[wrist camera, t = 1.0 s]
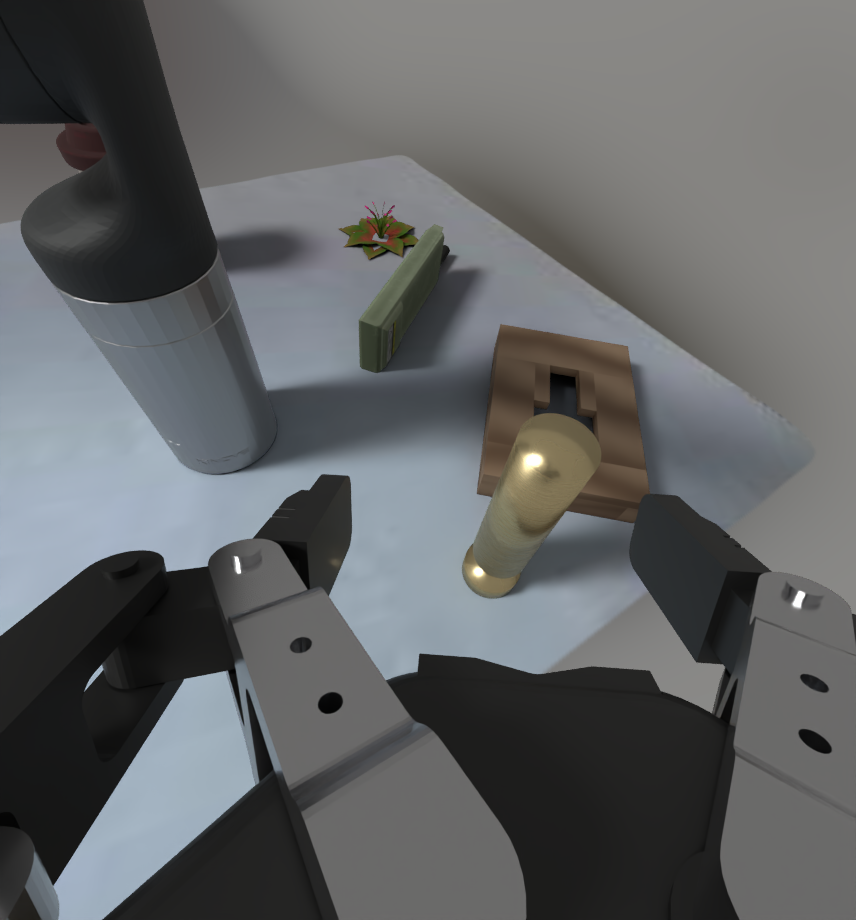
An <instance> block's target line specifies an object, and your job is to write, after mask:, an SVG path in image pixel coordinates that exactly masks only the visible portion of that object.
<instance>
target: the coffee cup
mask: <svg viewBox="0 0 856 920" xmlns="http://www.w3.org/2000/svg"><path fill="white" fill-rule="evenodd" d="M65 129H66V130H64V131H63V132H61V134H59V135H58V137H57V139H56V144H57V147H58V148H59V150H60V152H61V154H62V156H63V158H64V159H65V161H66V162H67V163H68V164H69V165H70V166H72V167H73V168H76V169H78V171H79V173H81V172H83V171H85V170H86V169H88V168H90V167H91V166H93V165H94V164H96V163H97V162H98V161H100V160H101V159H102V158H103V156H104V155H105V154H106V150H105V147H104V144H103V141H102V139H101V136H100V134H99V132H98V130H97V129H96V127H95V126H94V125H93V124H92V123H65Z"/></svg>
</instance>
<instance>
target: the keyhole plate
mask: <svg viewBox="0 0 856 920" xmlns="http://www.w3.org/2000/svg"><path fill="white" fill-rule="evenodd" d="M550 373H554V374H560V375H566V376H571V377H576V398H577V415H579V416H585V417H590V418H593V432H594V436H595V437H596V439H597V440H598V443H599V445H600V448H601V462H600V464H599V467H598V468H597V470H596V471H595V472H594V474H593V475H592V477H591V478H590V479H589V481H588V482H587V483H586V485H585V486H584V487H583V489H582V490H581V491H580V493H579V494H578V496H577V497H576V498H575V500H574V501H573V502H572V504H571V505H570V506H569V508H568V509H567V510H566V511H571V512H576V513H582V514H587V515H592V516H598V517H603V518H608V519H614V520H619V521H624V522H630V523H633V522H634V521H636V517H637V513H638V509H639V505H640V502H641V499H642V497H643V496H644V495H646V494H650V491H649V484H648V477H647V471H646V464H645V457H644V451H643V444H642V437H641V431H640V424H639V418H638V411H637V404H636V398H635V391H634V384H633V378H632V371H631V365H630V358H629V351H628V346H623V345H617V344H611V343H605V342H600V341H594V340H588V339H583V338H577V337H571V336H565V335H560V334H554V333H548V332H542V331H537V330H531V329H525V328H519V327H514V326H508V325H502V324H501V325H500V329H499V333H498V336H497V340H496V344H495V348H494V356H493V365H492V373H491V381H490V389H489V398H488V406H487V414H486V422H485V431H484V439H483V447H482V455H481V464H480V472H479V480H478V488H477V494H480V495H486V496H491V497H492V496H493V494H494V491H495V489H496V487H497V484H498V482H499V479H500V477H501V474H502V472H503V469H504V467H505V464H506V462H507V460H508V457H509V455H510V452H511V450H512V447H513V445H514V442H515V440H516V438H517V435H518V433H519V430H520V428H521V426H522V425H523V424H524V423H525V422H526V421H527V420H528V419H530V418H531V417H534V407H535V408H540V409H546V410H547V408H548V406H549V403H550Z"/></svg>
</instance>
